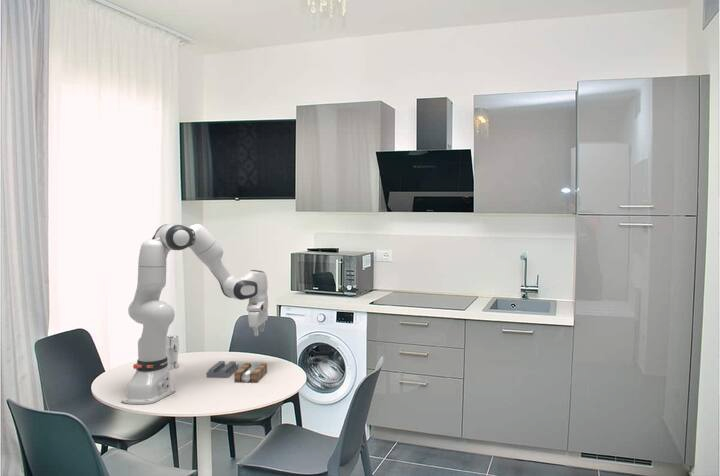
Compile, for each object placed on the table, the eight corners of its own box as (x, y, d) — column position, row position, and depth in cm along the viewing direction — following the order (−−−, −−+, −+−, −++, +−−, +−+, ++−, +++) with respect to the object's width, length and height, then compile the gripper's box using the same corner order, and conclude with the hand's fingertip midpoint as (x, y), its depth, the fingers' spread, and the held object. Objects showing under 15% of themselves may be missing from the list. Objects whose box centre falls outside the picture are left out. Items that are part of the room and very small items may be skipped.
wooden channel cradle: (256, 385, 244) (256, 373, 243) (234, 384, 245) (234, 373, 245) (267, 374, 260) (266, 363, 259) (245, 373, 261) (245, 363, 260)
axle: (250, 382, 244) (250, 373, 244) (241, 382, 244) (241, 373, 244) (260, 372, 260) (260, 363, 260) (252, 371, 260) (252, 363, 260)
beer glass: (174, 364, 277) (173, 334, 276) (182, 367, 272) (181, 336, 272) (161, 368, 271) (160, 337, 271) (169, 370, 267) (168, 339, 266)
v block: (228, 380, 251) (227, 370, 251) (206, 379, 252) (206, 369, 252) (238, 370, 265) (238, 361, 265) (217, 370, 266) (217, 361, 266)
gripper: (258, 300, 275) (258, 328, 276) (245, 308, 254) (246, 338, 255) (270, 300, 274) (271, 328, 275) (259, 308, 254) (260, 338, 255)
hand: (259, 333), depth 265 cm, fingers open, 8 cm apart
